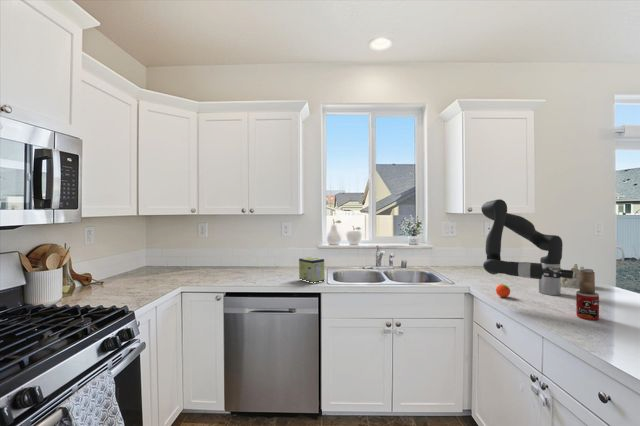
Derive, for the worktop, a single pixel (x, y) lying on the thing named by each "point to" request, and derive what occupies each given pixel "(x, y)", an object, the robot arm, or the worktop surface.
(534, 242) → the robot arm
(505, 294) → the clementine
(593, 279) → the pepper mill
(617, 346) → the worktop surface
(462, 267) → the worktop surface
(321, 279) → the protein box
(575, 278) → the beige irregular lump
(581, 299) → the canned food
